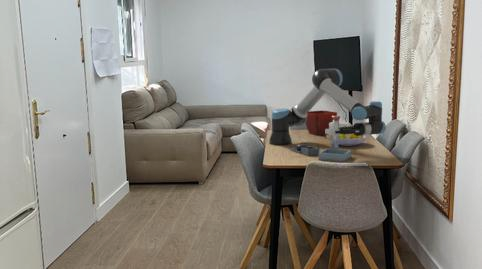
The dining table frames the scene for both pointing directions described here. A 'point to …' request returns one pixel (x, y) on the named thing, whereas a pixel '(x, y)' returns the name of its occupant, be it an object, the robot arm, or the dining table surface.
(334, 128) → the lock pin
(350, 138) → the fruit bowl
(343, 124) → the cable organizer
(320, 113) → the plant pot
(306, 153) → the bracket
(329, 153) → the tray
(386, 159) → the dining table surface
